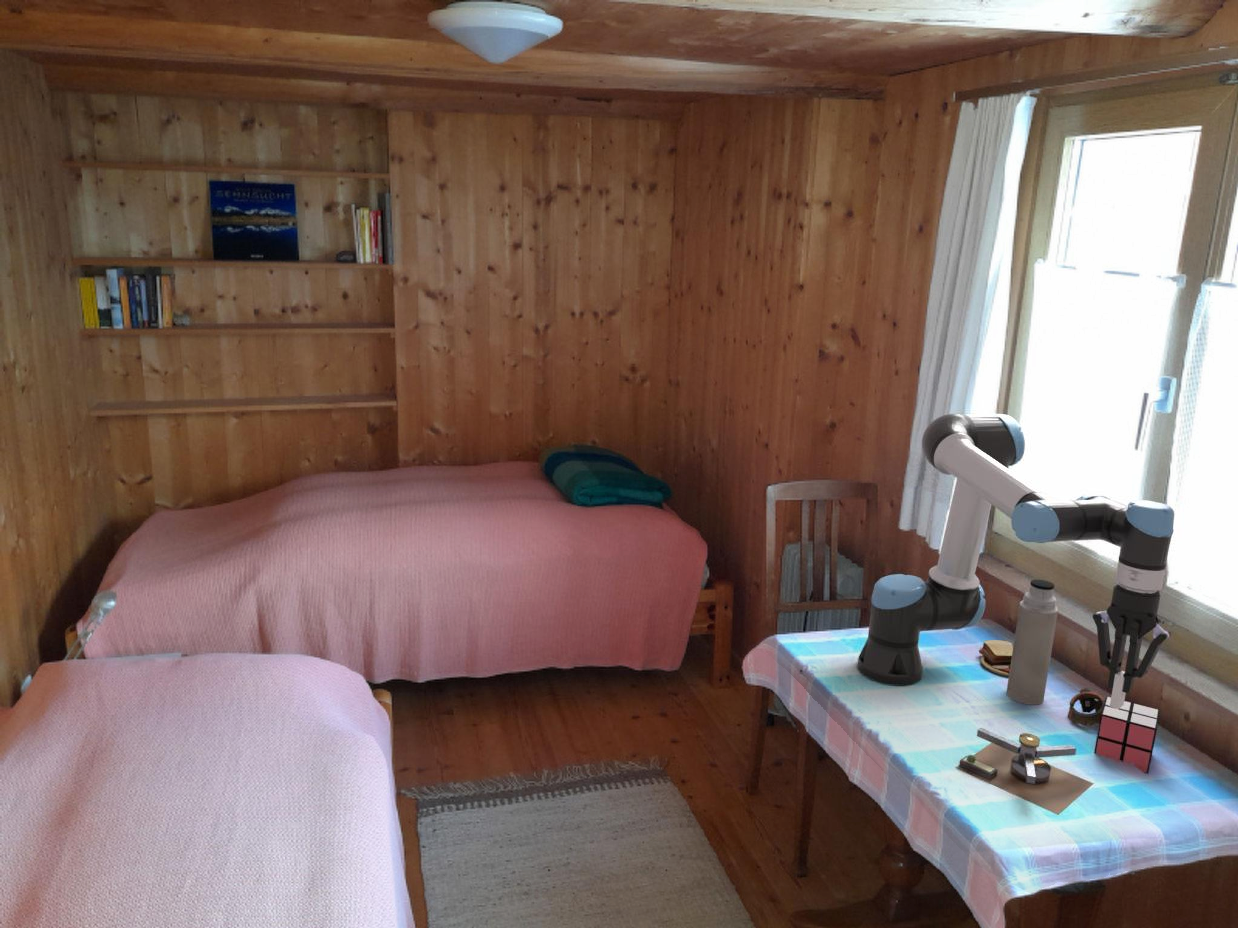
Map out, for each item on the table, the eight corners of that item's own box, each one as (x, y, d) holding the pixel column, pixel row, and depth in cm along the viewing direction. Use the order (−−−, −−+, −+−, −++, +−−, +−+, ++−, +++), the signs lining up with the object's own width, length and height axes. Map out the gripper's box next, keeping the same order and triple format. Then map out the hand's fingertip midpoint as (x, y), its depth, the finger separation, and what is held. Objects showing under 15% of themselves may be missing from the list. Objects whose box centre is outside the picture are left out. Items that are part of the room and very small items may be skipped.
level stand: (954, 772, 186) (957, 754, 185) (992, 746, 196) (995, 729, 196) (1057, 820, 172) (1060, 801, 171) (1092, 788, 182) (1095, 770, 181)
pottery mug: (1126, 738, 203) (1118, 711, 200) (1081, 750, 206) (1072, 723, 202) (1105, 699, 214) (1096, 673, 211) (1062, 711, 216) (1053, 685, 213)
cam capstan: (1025, 803, 174) (1031, 764, 172) (972, 751, 191) (977, 716, 189) (1100, 797, 177) (1107, 759, 175) (1041, 747, 194) (1047, 712, 192)
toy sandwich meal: (990, 678, 228) (993, 660, 227) (971, 654, 242) (973, 637, 240) (1042, 680, 228) (1045, 662, 227) (1020, 656, 242) (1023, 639, 240)
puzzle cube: (1148, 774, 188) (1157, 729, 186) (1092, 758, 193) (1100, 714, 191) (1151, 753, 197) (1160, 709, 194) (1098, 738, 202) (1105, 695, 199)
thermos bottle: (1007, 685, 224) (1024, 573, 218) (1044, 693, 221) (1062, 580, 215) (1005, 699, 217) (1022, 584, 211) (1043, 707, 214) (1061, 591, 208)
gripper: (1092, 580, 174) (1072, 698, 179) (1169, 601, 164) (1146, 725, 170) (1108, 572, 179) (1088, 687, 184) (1184, 592, 169) (1161, 712, 175)
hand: (1116, 705), depth 177 cm, fingers closed
